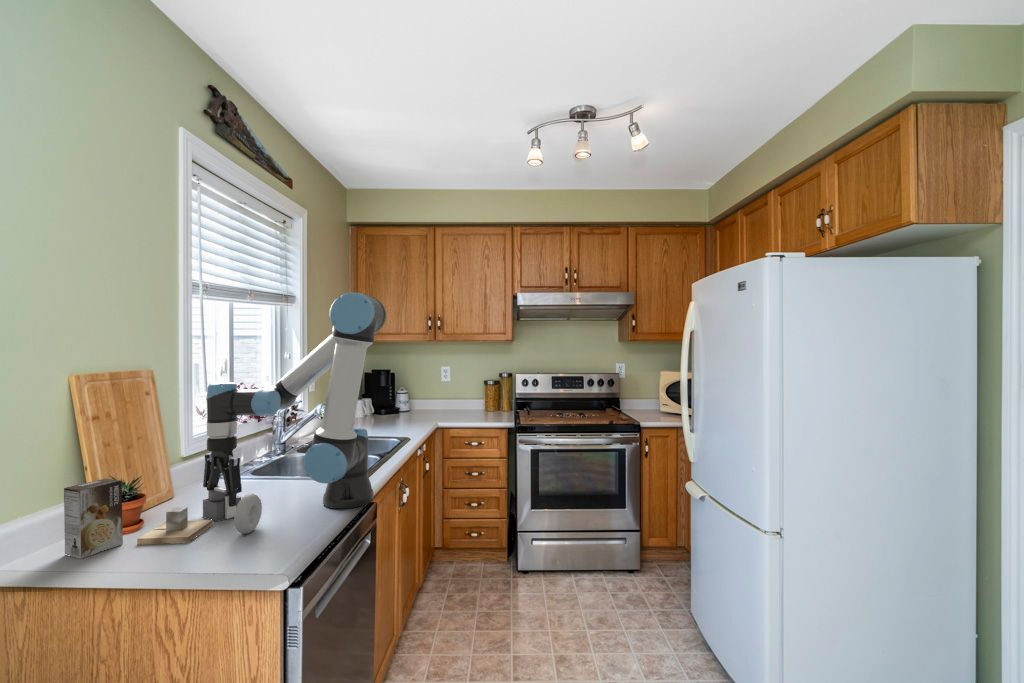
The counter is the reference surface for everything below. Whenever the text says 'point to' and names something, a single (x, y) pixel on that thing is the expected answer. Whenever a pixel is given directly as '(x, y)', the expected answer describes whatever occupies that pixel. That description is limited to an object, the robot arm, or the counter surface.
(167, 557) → the counter surface
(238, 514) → the upright grey disc
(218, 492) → the knob
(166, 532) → the base
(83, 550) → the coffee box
